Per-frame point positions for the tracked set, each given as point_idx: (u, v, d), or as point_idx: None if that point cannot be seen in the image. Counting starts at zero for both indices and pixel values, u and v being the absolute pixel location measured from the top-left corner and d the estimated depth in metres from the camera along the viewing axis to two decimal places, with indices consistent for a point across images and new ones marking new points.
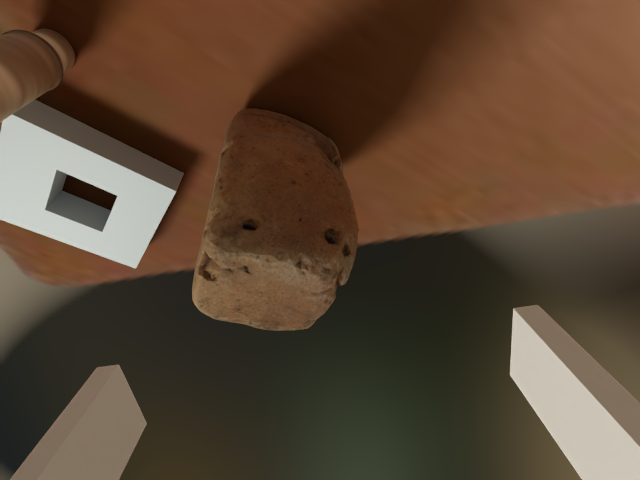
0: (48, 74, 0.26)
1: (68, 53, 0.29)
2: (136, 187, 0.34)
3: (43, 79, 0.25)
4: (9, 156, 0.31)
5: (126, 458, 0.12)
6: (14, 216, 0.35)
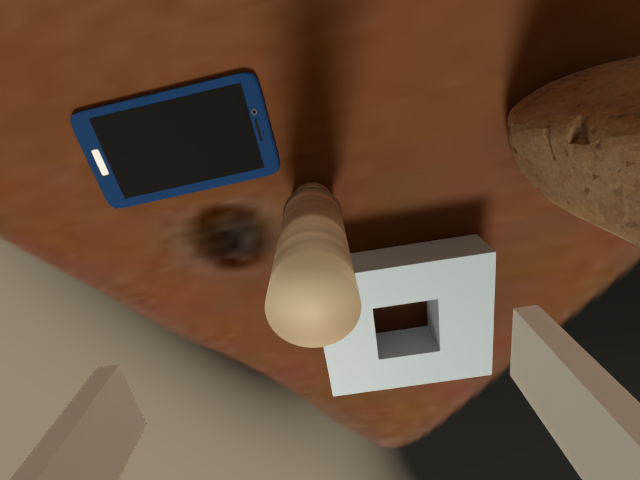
0: (338, 209, 0.24)
1: (327, 191, 0.28)
2: (452, 276, 0.28)
3: (340, 215, 0.23)
4: None
5: (126, 458, 0.12)
6: (356, 383, 0.32)
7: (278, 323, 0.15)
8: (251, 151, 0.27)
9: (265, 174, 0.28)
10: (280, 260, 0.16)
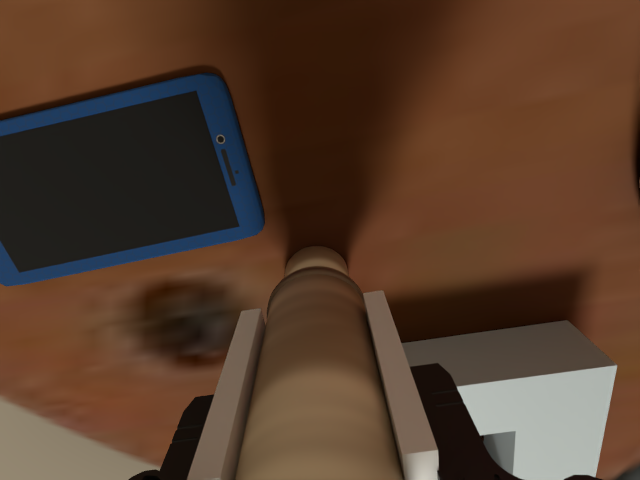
0: (363, 316, 0.13)
1: (340, 263, 0.17)
2: (542, 400, 0.17)
3: (368, 331, 0.13)
4: None
5: None
6: None
7: None
8: (217, 201, 0.17)
9: (241, 236, 0.17)
10: None
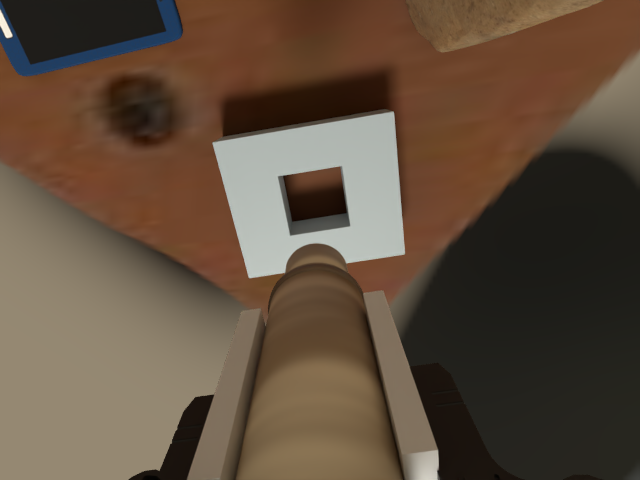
0: (362, 310, 0.14)
1: (340, 259, 0.18)
2: (353, 139, 0.28)
3: (366, 325, 0.13)
4: (237, 192, 0.29)
5: None
6: (270, 263, 0.32)
7: None
8: (152, 12, 0.27)
9: (168, 39, 0.28)
10: None
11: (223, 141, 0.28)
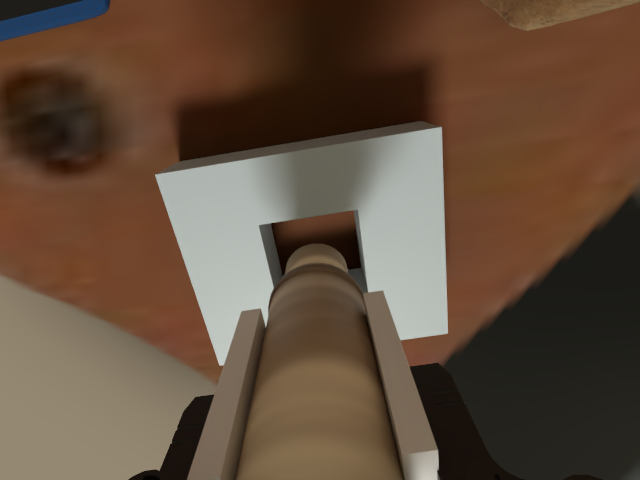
0: (362, 310, 0.14)
1: (340, 260, 0.18)
2: (376, 170, 0.18)
3: (366, 325, 0.13)
4: (197, 248, 0.19)
5: None
6: None
7: None
8: None
9: (86, 13, 0.18)
10: None
11: (172, 173, 0.18)
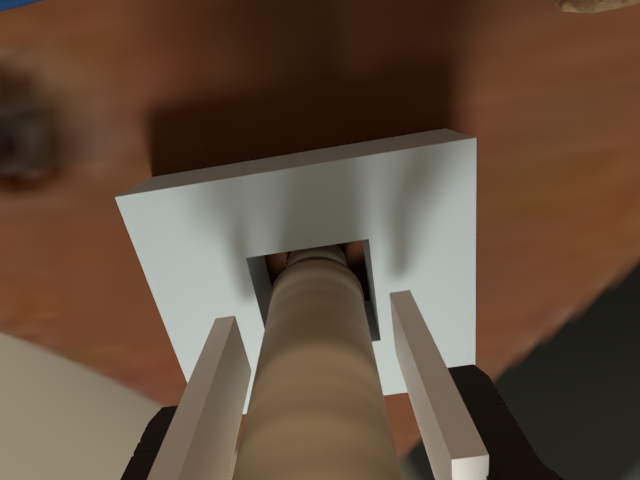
0: (360, 302, 0.14)
1: (339, 254, 0.18)
2: (392, 191, 0.14)
3: (364, 315, 0.14)
4: (170, 285, 0.16)
5: (243, 397, 0.13)
6: None
7: None
8: None
9: None
10: None
11: (136, 195, 0.14)
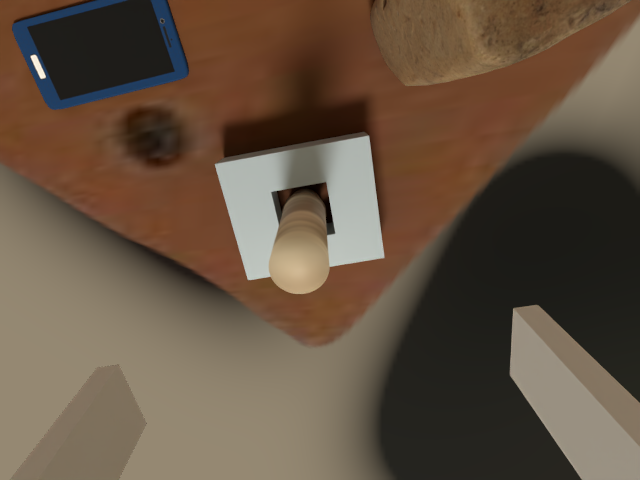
0: (322, 207, 0.33)
1: (316, 194, 0.37)
2: (335, 159, 0.33)
3: (323, 211, 0.32)
4: (236, 206, 0.34)
5: (126, 458, 0.12)
6: (266, 267, 0.37)
7: (277, 277, 0.24)
8: (162, 56, 0.32)
9: (176, 77, 0.33)
10: (278, 238, 0.25)
11: (224, 163, 0.33)
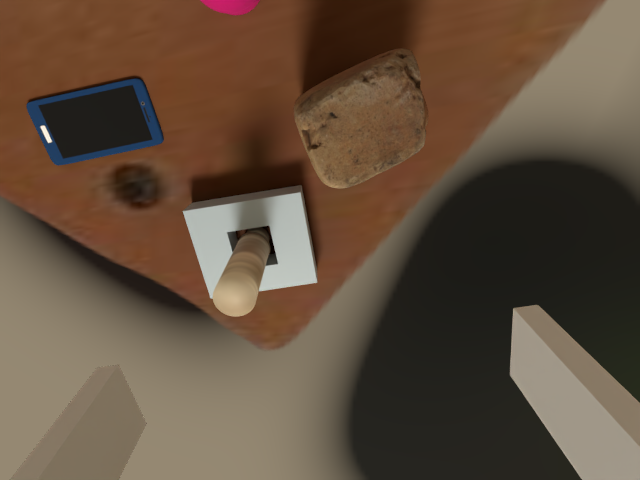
0: (264, 246, 0.43)
1: (264, 232, 0.47)
2: (275, 209, 0.43)
3: (264, 249, 0.42)
4: (200, 242, 0.44)
5: (126, 458, 0.12)
6: None
7: (219, 304, 0.34)
8: (143, 128, 0.42)
9: (153, 144, 0.43)
10: (221, 276, 0.35)
11: (189, 210, 0.43)
